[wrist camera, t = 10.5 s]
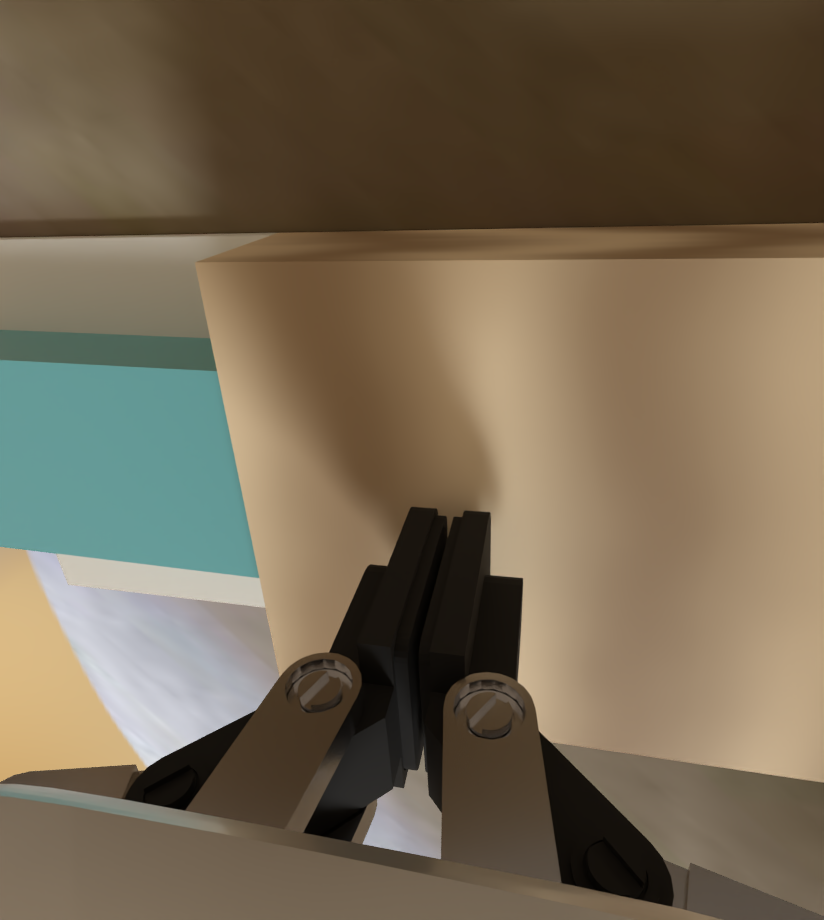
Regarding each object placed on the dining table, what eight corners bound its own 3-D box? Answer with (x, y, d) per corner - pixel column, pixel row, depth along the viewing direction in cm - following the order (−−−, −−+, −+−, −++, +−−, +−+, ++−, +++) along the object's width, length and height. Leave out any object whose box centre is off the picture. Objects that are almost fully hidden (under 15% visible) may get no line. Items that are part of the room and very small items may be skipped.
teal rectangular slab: (282, 341, 16) (241, 372, 14) (307, 530, 18) (276, 580, 16) (-9, 329, 17) (-84, 355, 15) (55, 504, 20) (-2, 546, 18)
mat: (278, 232, 15) (272, 235, 14) (330, 606, 20) (326, 614, 20) (-56, 238, 17) (-69, 240, 16) (75, 577, 22) (68, 584, 22)
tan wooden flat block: (1180, 216, 11) (1459, 253, 8) (939, 675, 17) (1040, 814, 13) (278, 232, 15) (194, 262, 11) (330, 606, 20) (285, 702, 17)
